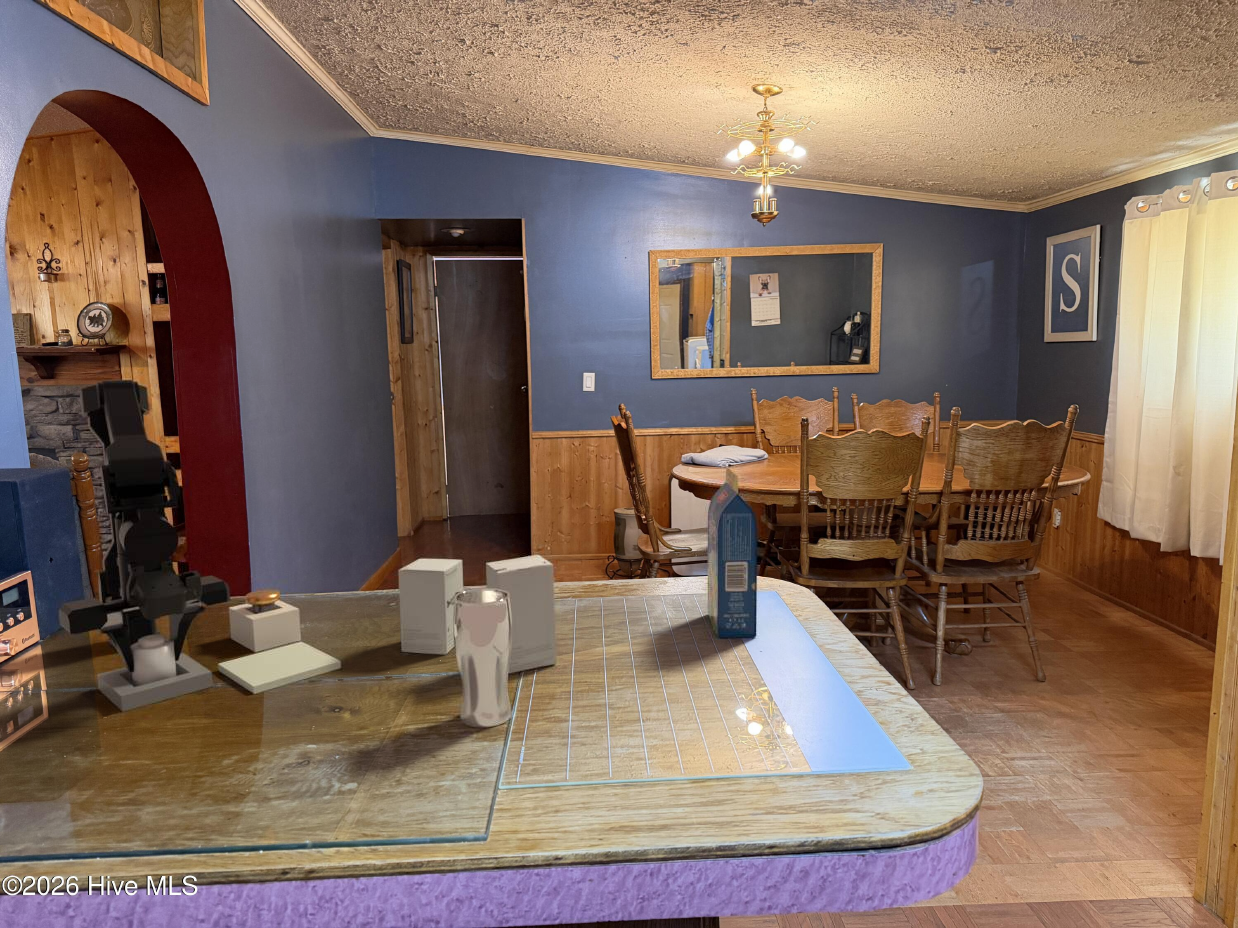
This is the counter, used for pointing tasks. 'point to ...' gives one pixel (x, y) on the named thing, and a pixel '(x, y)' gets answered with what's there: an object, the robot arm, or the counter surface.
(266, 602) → the plunger
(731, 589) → the blue food package
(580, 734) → the counter surface
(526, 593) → the skincare box
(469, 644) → the beer glass
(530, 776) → the counter surface
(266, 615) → the plunger housing
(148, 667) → the cylinder
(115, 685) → the socket
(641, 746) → the counter surface
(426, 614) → the supplement box
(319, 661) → the dock pad
